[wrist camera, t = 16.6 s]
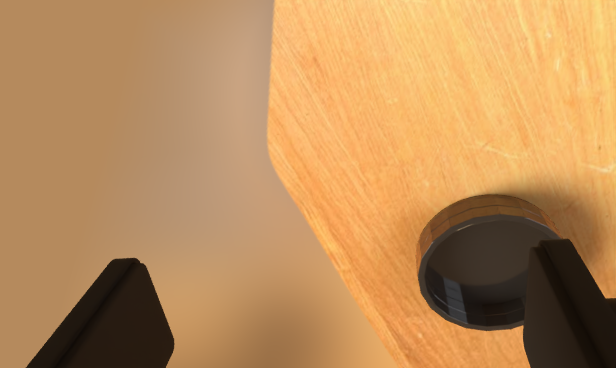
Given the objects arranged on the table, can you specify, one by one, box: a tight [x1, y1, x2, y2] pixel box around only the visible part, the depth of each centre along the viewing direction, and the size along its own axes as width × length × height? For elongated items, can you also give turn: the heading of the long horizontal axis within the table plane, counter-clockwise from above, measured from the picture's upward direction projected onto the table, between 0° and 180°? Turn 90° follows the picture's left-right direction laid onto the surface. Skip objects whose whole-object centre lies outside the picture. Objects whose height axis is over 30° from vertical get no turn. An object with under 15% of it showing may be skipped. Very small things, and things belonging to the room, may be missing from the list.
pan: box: [416, 195, 563, 331], centre depth 44 cm, size 13×13×4 cm
